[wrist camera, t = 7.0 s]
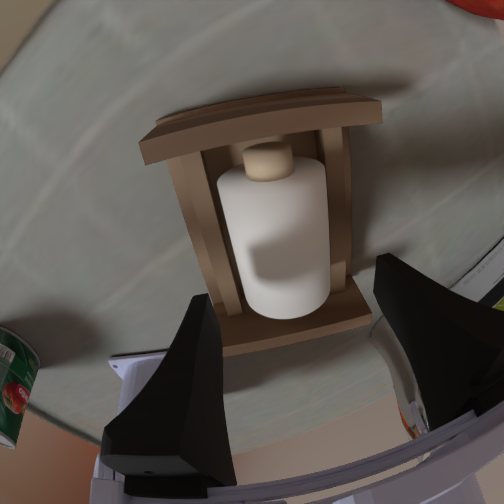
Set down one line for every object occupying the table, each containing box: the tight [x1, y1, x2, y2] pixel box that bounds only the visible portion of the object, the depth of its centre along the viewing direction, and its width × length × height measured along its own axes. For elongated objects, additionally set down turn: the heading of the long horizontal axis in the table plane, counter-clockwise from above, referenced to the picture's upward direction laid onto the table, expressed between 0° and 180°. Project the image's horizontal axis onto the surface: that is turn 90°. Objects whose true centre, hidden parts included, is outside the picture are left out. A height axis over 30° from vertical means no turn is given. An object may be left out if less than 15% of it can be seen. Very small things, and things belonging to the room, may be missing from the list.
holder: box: [139, 87, 383, 357], centre depth 16 cm, size 14×10×5 cm
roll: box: [217, 141, 331, 319], centre depth 15 cm, size 9×5×5 cm, turn 10°
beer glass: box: [370, 316, 448, 463], centre depth 21 cm, size 7×7×15 cm
